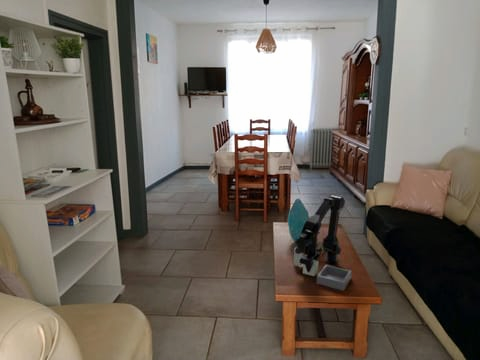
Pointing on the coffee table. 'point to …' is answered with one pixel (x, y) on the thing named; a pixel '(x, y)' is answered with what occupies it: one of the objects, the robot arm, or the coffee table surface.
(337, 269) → the grey crate
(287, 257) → the coffee table surface
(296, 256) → the small box
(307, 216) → the teal pointed ovoid
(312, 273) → the sage crate
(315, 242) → the robot arm
